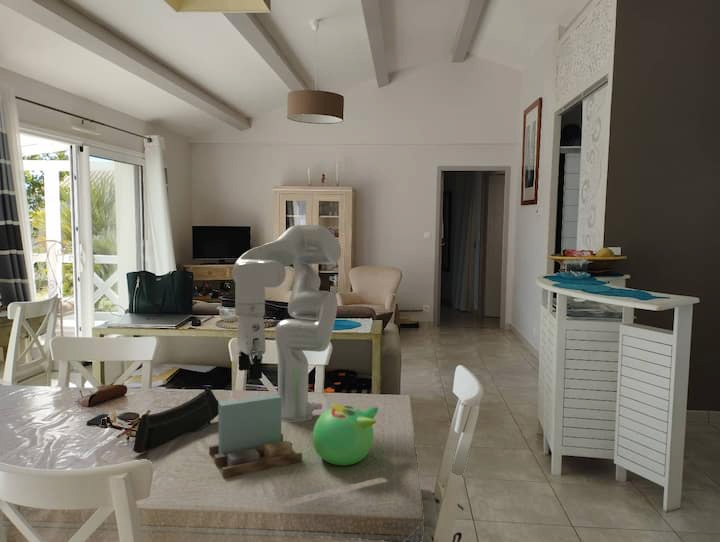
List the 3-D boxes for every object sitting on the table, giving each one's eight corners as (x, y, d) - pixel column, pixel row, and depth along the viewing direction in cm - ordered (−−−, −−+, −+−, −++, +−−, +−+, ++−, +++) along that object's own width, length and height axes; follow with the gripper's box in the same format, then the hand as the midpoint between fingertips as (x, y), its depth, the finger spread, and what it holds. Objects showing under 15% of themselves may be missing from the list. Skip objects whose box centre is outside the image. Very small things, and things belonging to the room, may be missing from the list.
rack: (281, 442, 148) (281, 432, 147) (302, 465, 134) (302, 454, 133) (208, 456, 138) (208, 445, 138) (223, 482, 124) (223, 470, 124)
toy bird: (316, 445, 146) (317, 393, 145) (377, 447, 146) (378, 395, 145) (308, 475, 128) (308, 417, 127) (377, 477, 128) (378, 418, 127)
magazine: (133, 427, 134) (211, 368, 159) (124, 425, 135) (203, 366, 160) (149, 481, 139) (222, 416, 164) (141, 479, 141) (214, 414, 166)
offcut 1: (254, 460, 134) (254, 448, 134) (259, 466, 131) (259, 454, 130) (227, 465, 131) (227, 453, 131) (231, 472, 127) (231, 460, 127)
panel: (277, 444, 144) (277, 394, 143) (281, 448, 142) (281, 397, 141) (218, 455, 137) (218, 402, 136) (221, 459, 134) (221, 405, 133)
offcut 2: (286, 453, 138) (286, 440, 138) (291, 459, 135) (291, 446, 134) (264, 458, 135) (264, 444, 135) (269, 464, 132) (269, 450, 132)
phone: (101, 413, 166) (145, 417, 164) (101, 417, 166) (145, 420, 164) (84, 422, 158) (130, 426, 156) (84, 426, 158) (130, 430, 156)
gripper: (275, 313, 130) (274, 381, 132) (254, 304, 146) (254, 365, 147) (245, 315, 127) (245, 384, 128) (227, 305, 142) (227, 368, 143)
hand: (250, 374), depth 137 cm, fingers open, 9 cm apart
